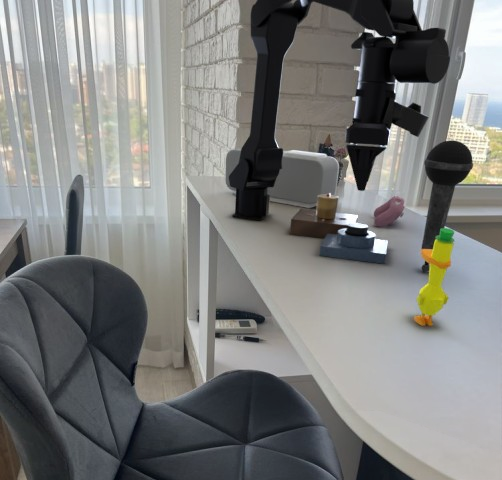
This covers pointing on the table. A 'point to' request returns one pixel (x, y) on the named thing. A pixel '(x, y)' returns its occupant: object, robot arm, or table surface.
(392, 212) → the video game controller
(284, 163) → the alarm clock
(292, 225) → the dial panel
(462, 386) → the table surface
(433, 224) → the microphone
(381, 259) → the button box
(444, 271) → the toy figure
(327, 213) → the dial
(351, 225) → the button
